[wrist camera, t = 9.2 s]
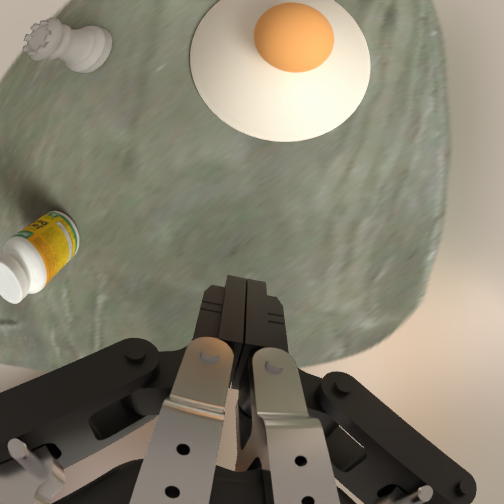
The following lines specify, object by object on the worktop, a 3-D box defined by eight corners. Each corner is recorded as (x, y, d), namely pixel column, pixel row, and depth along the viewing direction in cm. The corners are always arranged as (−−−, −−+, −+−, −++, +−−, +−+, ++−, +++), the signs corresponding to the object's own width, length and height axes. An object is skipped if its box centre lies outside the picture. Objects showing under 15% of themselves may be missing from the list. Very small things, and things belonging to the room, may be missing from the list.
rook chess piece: (64, 65, 18) (5, 60, 10) (89, 22, 16) (35, 3, 9) (97, 81, 19) (39, 76, 12) (124, 36, 17) (73, 13, 10)
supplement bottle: (57, 262, 27) (7, 315, 18) (35, 219, 24) (-23, 263, 16) (89, 248, 26) (37, 305, 17) (66, 201, 23) (2, 244, 15)
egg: (255, 37, 18) (248, 82, 18) (259, -14, 13) (251, 24, 12) (322, 47, 19) (325, 93, 18) (338, -1, 13) (347, 40, 12)
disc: (174, 122, 21) (173, 123, 21) (214, -28, 15) (214, -29, 14) (346, 161, 22) (347, 162, 22) (382, 14, 16) (383, 14, 16)
